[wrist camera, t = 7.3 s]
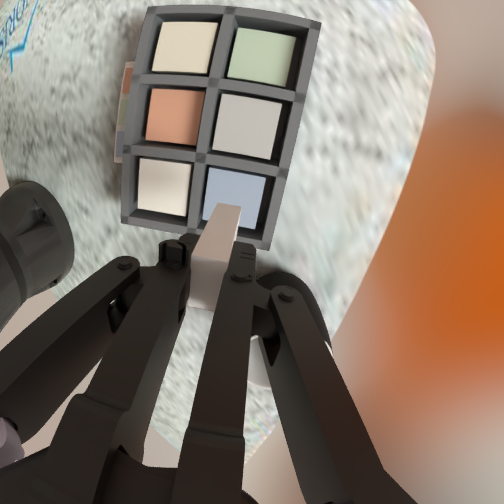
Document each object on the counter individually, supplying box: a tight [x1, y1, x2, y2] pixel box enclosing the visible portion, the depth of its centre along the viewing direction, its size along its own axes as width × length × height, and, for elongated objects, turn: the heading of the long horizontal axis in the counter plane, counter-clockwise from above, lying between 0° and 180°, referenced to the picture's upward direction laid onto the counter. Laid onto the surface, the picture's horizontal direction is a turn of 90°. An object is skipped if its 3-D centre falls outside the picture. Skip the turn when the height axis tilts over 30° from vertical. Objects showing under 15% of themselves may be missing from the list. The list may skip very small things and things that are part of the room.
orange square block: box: [146, 89, 206, 145], centre depth 20 cm, size 4×4×2 cm
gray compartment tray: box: [114, 5, 321, 251], centre depth 20 cm, size 17×20×4 cm
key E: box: [227, 28, 296, 89], centre depth 18 cm, size 4×4×2 cm
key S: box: [152, 22, 220, 76], centre depth 17 cm, size 4×4×2 cm
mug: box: [247, 273, 333, 390], centre depth 28 cm, size 12×9×10 cm
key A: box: [202, 165, 266, 229], centre depth 23 cm, size 4×4×2 cm
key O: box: [138, 156, 195, 216], centre depth 22 cm, size 4×4×2 cm
